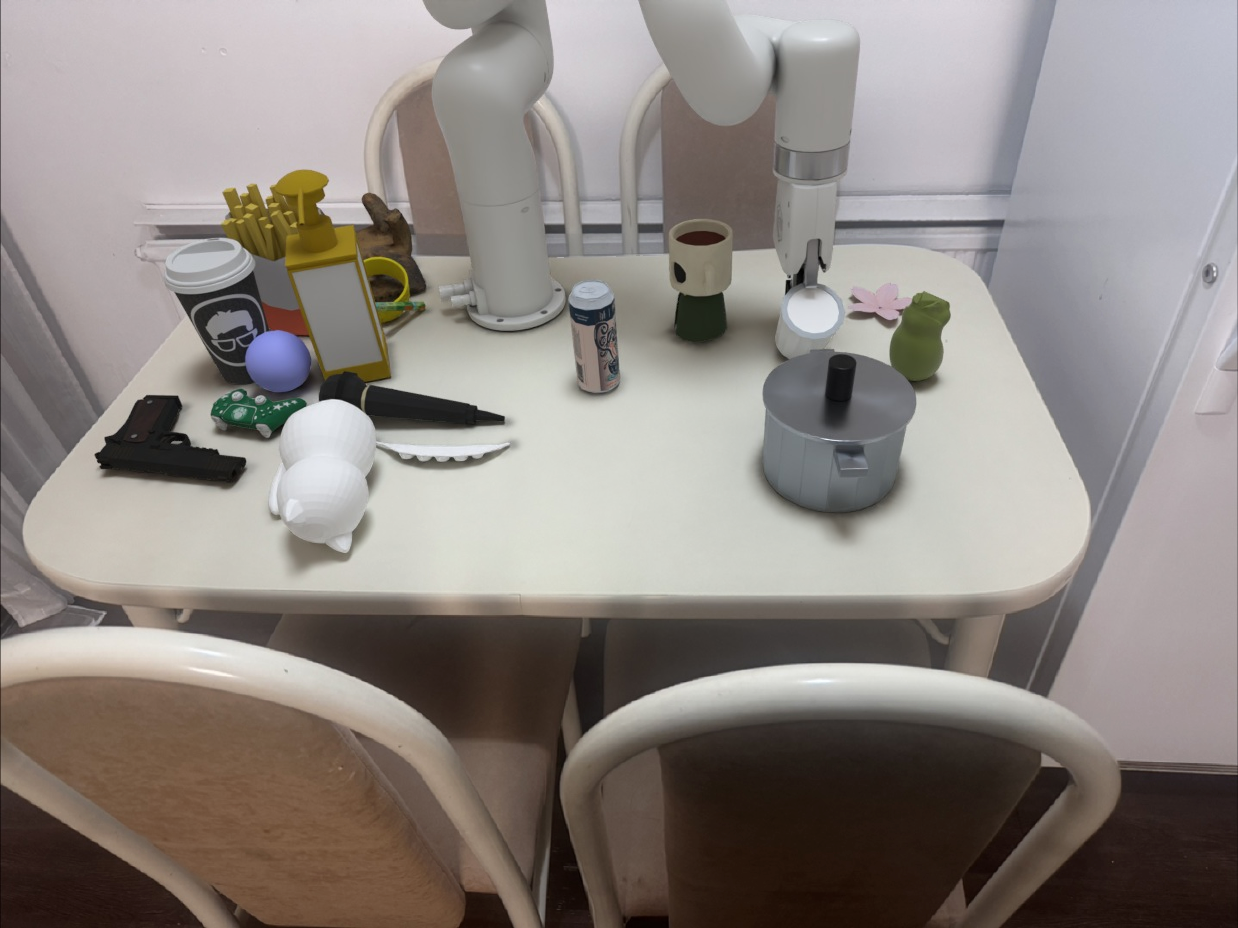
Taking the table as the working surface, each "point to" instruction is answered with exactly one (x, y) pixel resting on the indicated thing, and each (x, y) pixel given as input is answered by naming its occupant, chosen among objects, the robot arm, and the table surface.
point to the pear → (920, 337)
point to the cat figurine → (324, 472)
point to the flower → (880, 301)
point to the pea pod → (441, 451)
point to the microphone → (399, 402)
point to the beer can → (594, 336)
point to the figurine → (388, 249)
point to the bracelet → (394, 270)
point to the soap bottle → (332, 285)
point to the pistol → (163, 445)
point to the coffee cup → (219, 300)
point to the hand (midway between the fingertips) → (798, 312)
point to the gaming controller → (253, 411)
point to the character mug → (700, 277)
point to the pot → (829, 468)
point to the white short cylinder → (808, 319)
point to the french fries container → (267, 251)
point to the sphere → (278, 361)
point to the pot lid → (839, 398)
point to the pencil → (400, 306)
